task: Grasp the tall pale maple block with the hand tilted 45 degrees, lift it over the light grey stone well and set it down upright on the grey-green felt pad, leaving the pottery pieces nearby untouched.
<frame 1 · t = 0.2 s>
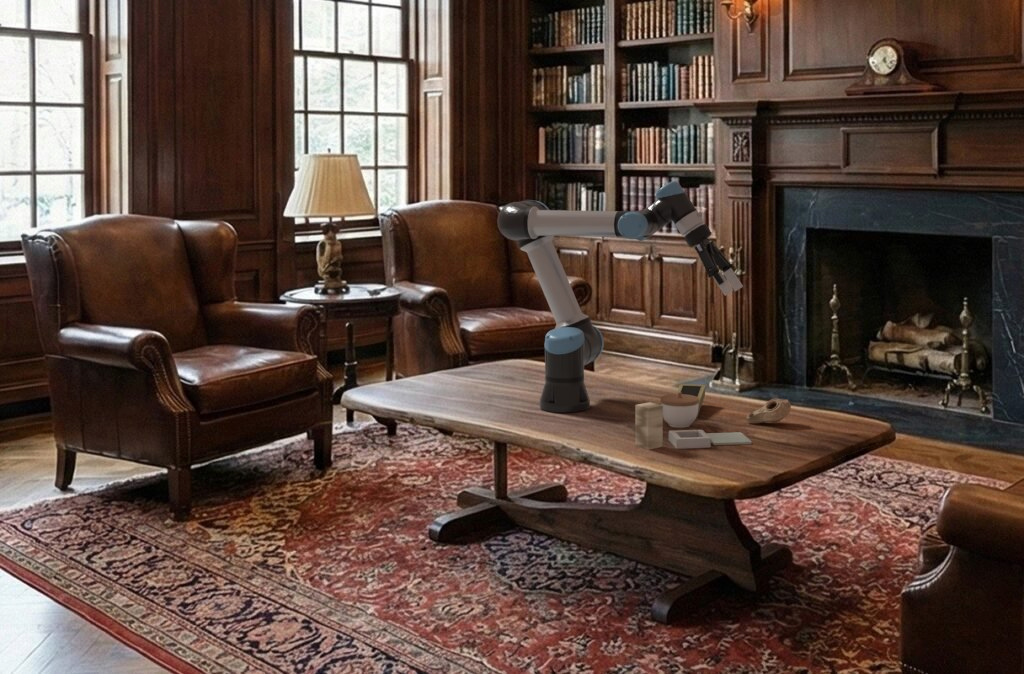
hand: (734, 291, 326), 36 cm above the table, tool tilted 35°, fingers open, 13 cm apart
stone well: (689, 443, 297), on the table
pottery oil lamp: (768, 424, 317), on the table
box: (687, 412, 332), on the table
felt pad: (727, 439, 301), on the table
lidded jar: (679, 425, 317), on the table
maple block: (648, 446, 295), on the table
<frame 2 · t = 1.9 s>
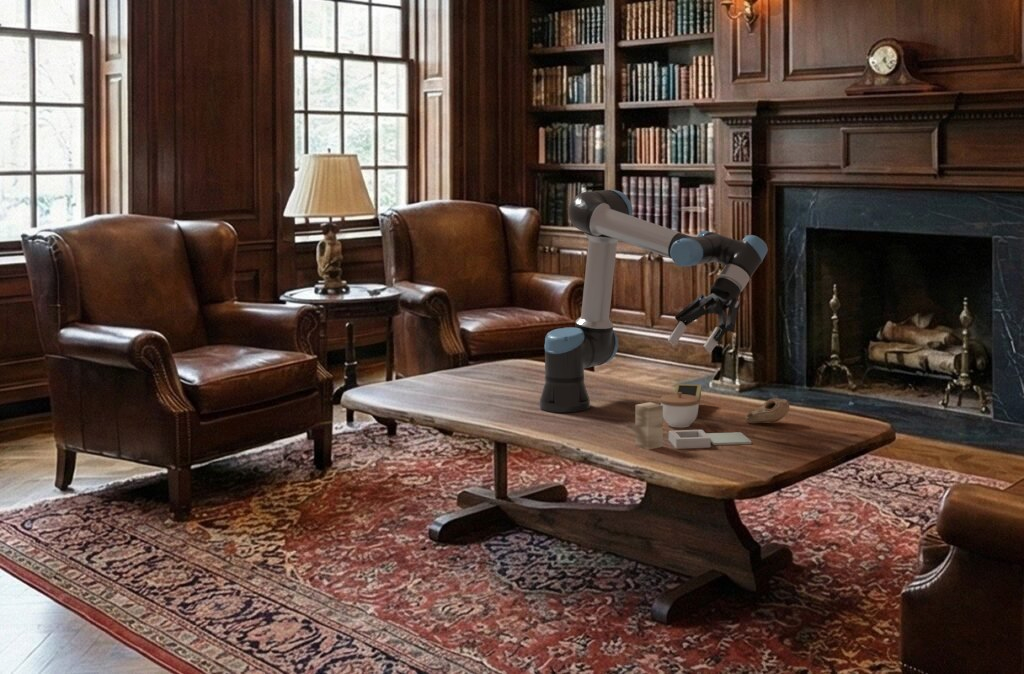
hand: (688, 346, 299), 25 cm above the table, tool tilted 45°, fingers open, 13 cm apart
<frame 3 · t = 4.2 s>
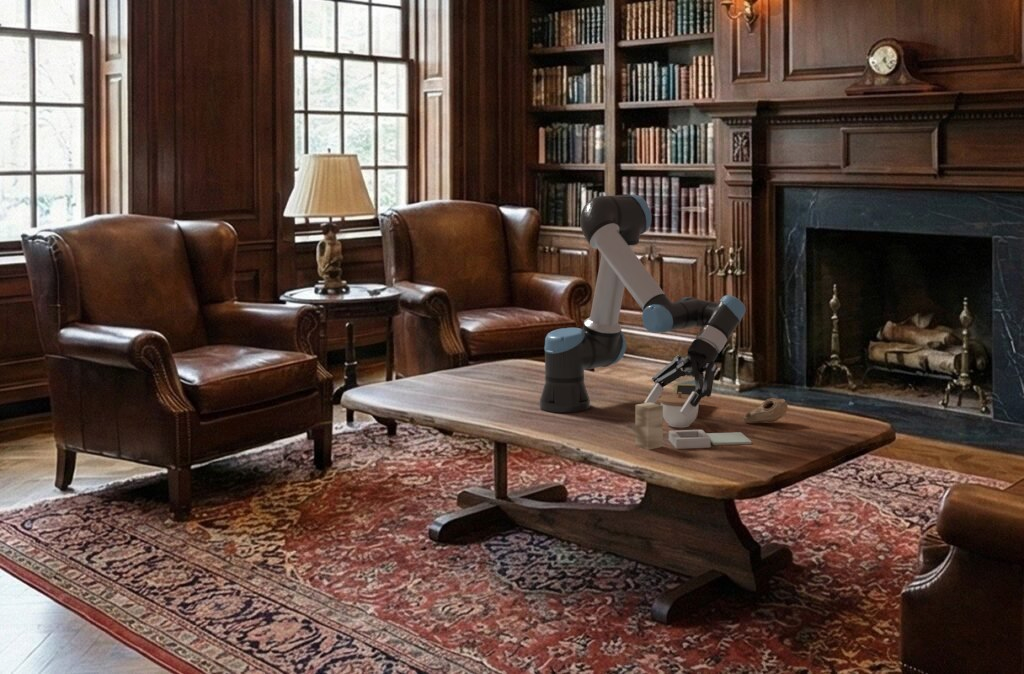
hand: (665, 410, 295), 9 cm above the table, tool tilted 45°, fingers open, 13 cm apart
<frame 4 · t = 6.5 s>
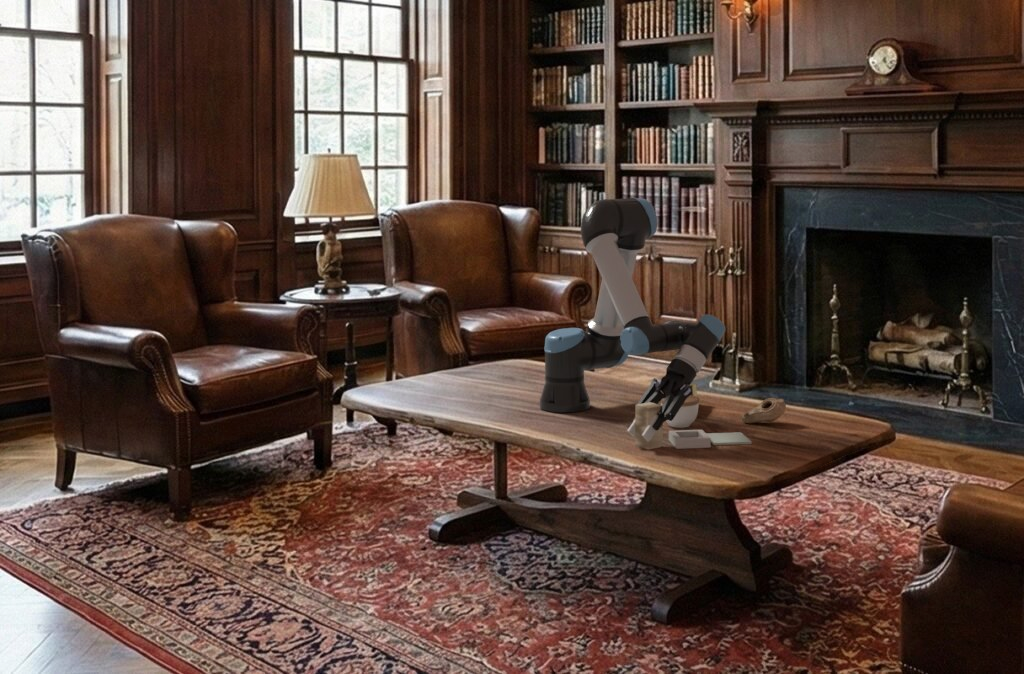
hand: (638, 436, 293), 3 cm above the table, tool tilted 45°, fingers closed on maple block, 5 cm apart
maple block: (648, 446, 295), on the table, touching gripper
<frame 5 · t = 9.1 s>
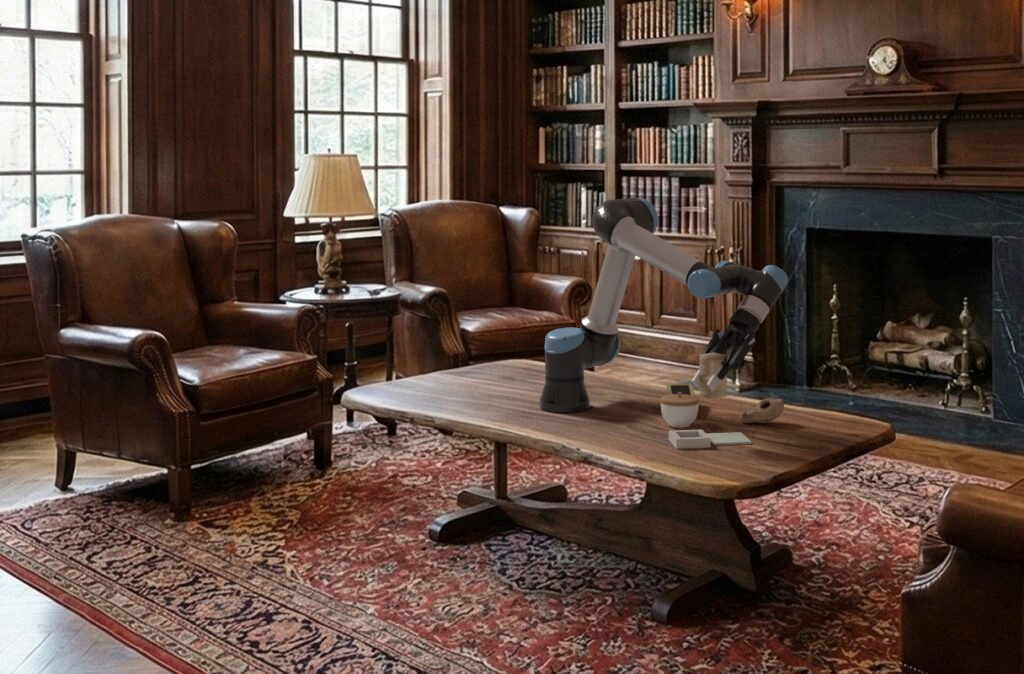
hand: (702, 385, 294), 16 cm above the table, tool tilted 45°, fingers closed on maple block, 5 cm apart
maple block: (713, 396, 296), point 12 cm above the table, touching gripper
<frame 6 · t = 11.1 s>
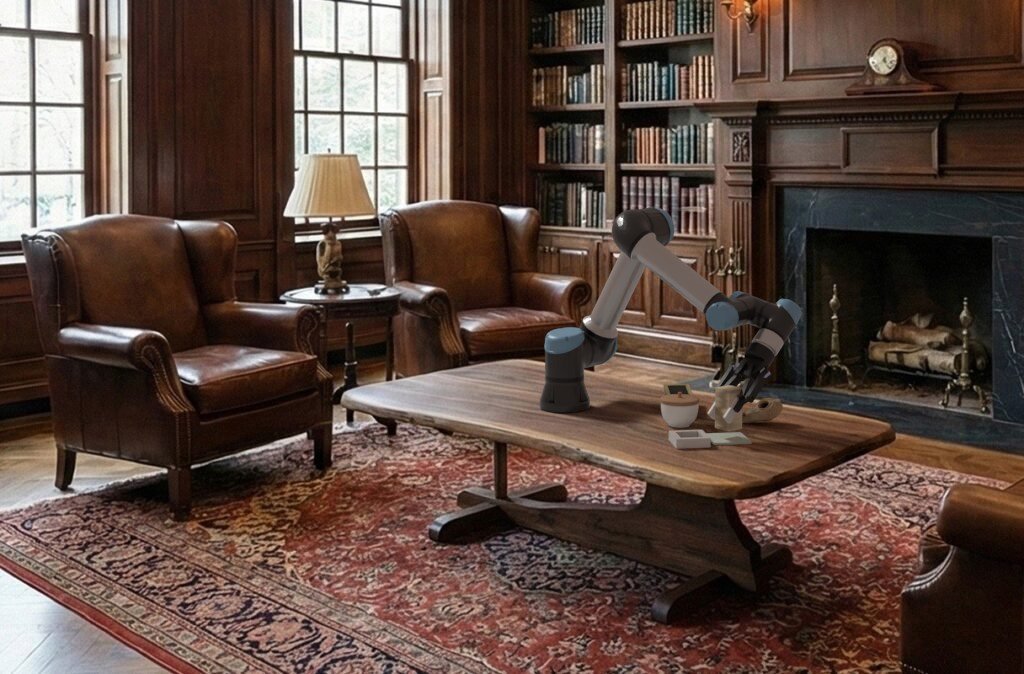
hand: (718, 418, 297), 6 cm above the table, tool tilted 45°, fingers closed on maple block, 5 cm apart
maple block: (728, 428, 300), point 3 cm above the table, touching gripper
when the fingers open (5 cm above the table, at t = 11.6 s): maple block drops 2 cm, resting on felt pad.
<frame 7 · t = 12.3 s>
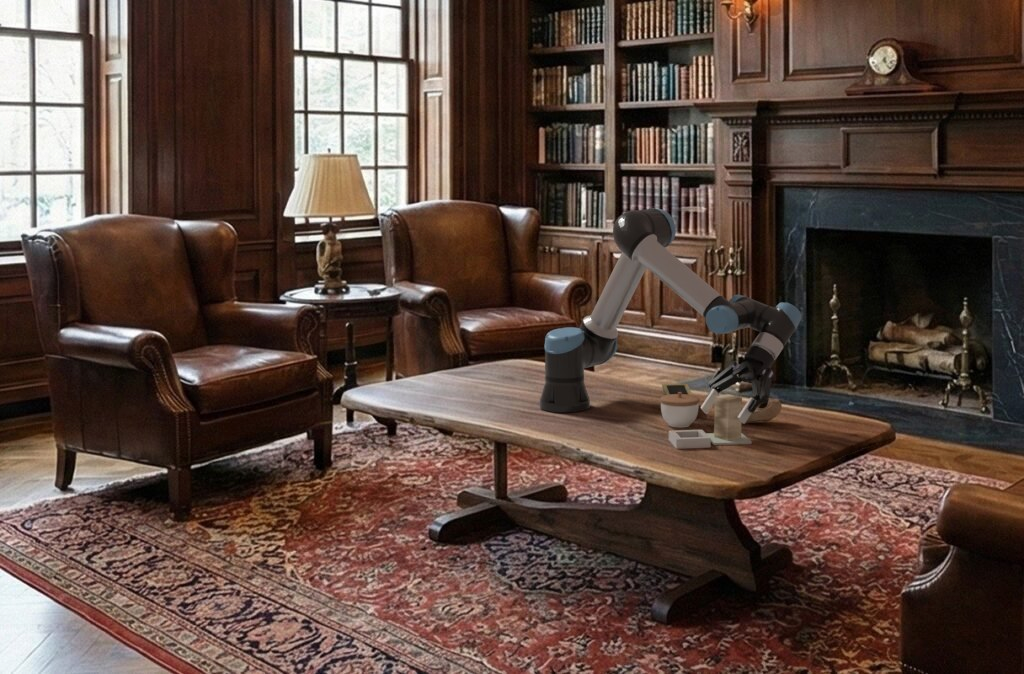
hand: (721, 415, 298), 7 cm above the table, tool tilted 45°, fingers open, 13 cm apart
maple block: (727, 437, 300), point 1 cm above the table, touching felt pad
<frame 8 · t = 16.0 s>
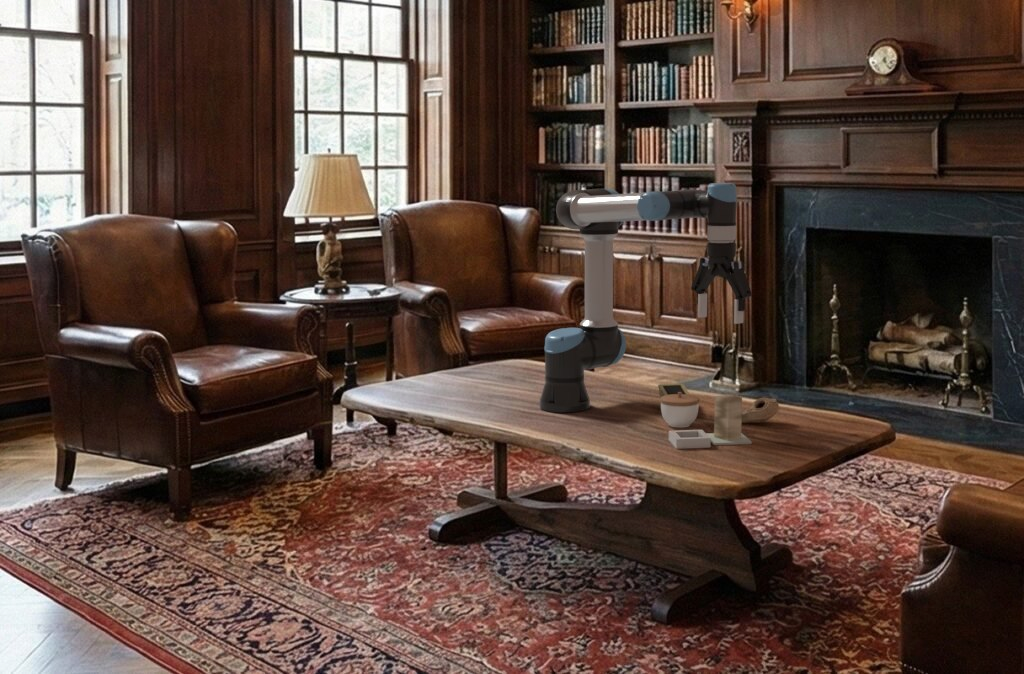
hand: (720, 320, 305), 31 cm above the table, tool pointing down, fingers open, 13 cm apart
at the end: maple block inside the target area on the felt pad (0.1 cm from its centre), point 0.6 cm above the felt pad's base; maple block tilted 0°; the gripper is holding nothing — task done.
